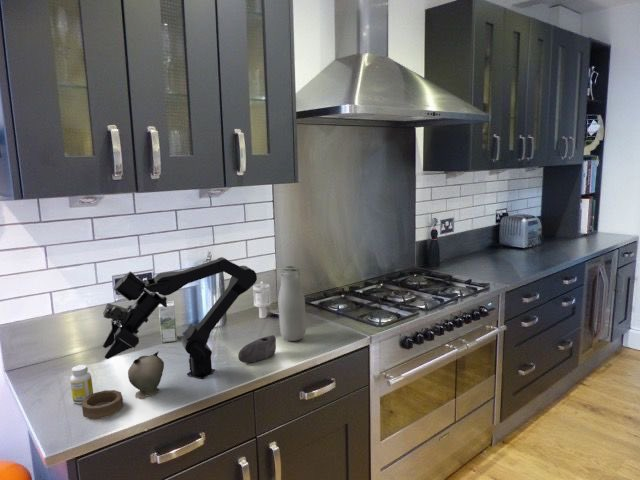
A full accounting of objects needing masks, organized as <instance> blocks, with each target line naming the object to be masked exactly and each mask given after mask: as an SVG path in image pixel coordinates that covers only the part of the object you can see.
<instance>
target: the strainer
mask: <svg viewBox="0 0 640 480" xmlns="http://www.w3.org/2000/svg"><path fill="white" fill-rule="evenodd" d="M252 291H253V292H252V294H253V307H256V308H258V317H259V319H266V318H267V307H269V306H271V304H272V303H271V287H270V284H268V283H264V281H260V282H259V283H257V284H256V283H255V284H254V285H253V286H252Z"/></svg>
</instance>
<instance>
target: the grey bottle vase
mask: <svg viewBox="0 0 640 480" xmlns="http://www.w3.org/2000/svg"><path fill="white" fill-rule="evenodd" d="M279 277H280V286H279V290H278V291H279V293H278V295H277V296H278V297H277V305H278V317H279V320H278V321H279V330H280V335H281V337H282V339H284V340H286V341H288V342H297V341H299V340H301V339H303V338H304V336H305V335H306V327H307V326H306V325H307V324H306V299H305V294H304V291H303V288H302V284H301V280H300V277H301V273H300V268H299V267H296V266H293V265H288V266H284V267H282V268H281V270H280V276H279Z"/></svg>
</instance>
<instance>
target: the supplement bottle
mask: <svg viewBox="0 0 640 480" xmlns="http://www.w3.org/2000/svg"><path fill="white" fill-rule="evenodd" d="M88 371H89V370H88V365H87V364H79V365H76V366H74V367H72V368H71V374H72V375H71V376H70V379H69V381H70V389H71V396H72V402H73V403H74V404H77V405H78V404H79V405H80V404H81V405H82V403H81V402H82V401H83V400H84V399H85V398H86V397H87V396H89V395H91V394H94V388H93V381H92V380H93V379H92V374H91V373H90V372H88Z"/></svg>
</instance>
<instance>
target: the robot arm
mask: <svg viewBox="0 0 640 480" xmlns="http://www.w3.org/2000/svg"><path fill="white" fill-rule="evenodd" d="M220 273H225V274H228V275H229V276H231V277H230V280H229V282H228V284H227V287H226V289H224V291H223V293H221V295H220V296H219V298H217V300H216V301H215V303H213V305H212V306H211V308H210V309H209V310H208V312H207V313H206V314H205V315H204V317H203V318H202V319H201V320H200V321H199V323H197V324H195V325H193V324H192V323H190V324H189V325H188V327H187V329H186V330H185V331H183V332H182V337H181V344H182V347H183V348H184V350H185V351H186V353H187V355H189V356H188V357H189V359H188V364H189V372H187V373H186V375H187V376H189V377H193V378H197V379H204V378H206V377H208V376H209V375H211V374H214V373H215V372H216V369H215V368H213V365H212V363H213V362H212V354H213V350H211V348H210V347H209V345H208V342H209V338H210V335H211V332H213V330H214V328H215V327H216V326H217V324H218V323H219V322H220V321H221V319H222V318H223V317H224V316H225V314H226V313H227V311H228V310H229V309H230V308H231V306H232V305H233V304H234V302H236V300H238V297H239V296H241V295H242V294H244V293H246V292H247V291H248V290H249V289H251V288H253V286H254V285H256V282H257V281H258V277H257V276H258V275H257V272H256V271H255V270H254V269H252V268H250V267H248V266H247V265H238V264H236V263H234V262H232V261H230V260H228V259H226V258H225V257H223V256H220V257H217V258H216V259H214V260H210V261H208V262H205V263H202V264H199V265H194V266H192V267H189V268H186V269H182V270H177V271H173V270H172V271H166V272H161V273H158V274H155V277H152V278H148V279H144V280H142V279H140V278H139V277H137V276H136V275H135V274H134V273H133V272H132V271H129V272H127V274H125V275H123V276H122V277H120V279H119V280H118V281H117V282H116V283H115V285H114V287H113V290H114V291H115V292H116V293H117V294H118V295H121V296H122V297H123V298H124V299H126V300H128V301H135V302H134V303H133V304H130V305H128V306H127V307H126V308H125V307H122V306H119V305H116V304H113V303H106V305H105V308H104V310H103V314H102V315H103V318H105V319H110V322H111V324H110V325H111V330H110V331H109V333H108V336H107V337H106V339H105V340H104V343H103V345H102V347H103V348H104V349H107V348H109V349H108V350H107V352H106V354H105V355H104V359H106V360H109V359H111V358H113V357H115V356H117V355H119V354H121V353H123V352H125V351H127V350H130V349H133V348H134V349H135V348H136V347H137V345H139V343H140V339H139V336H138V333H139V332H140V331H139V329H141V328H140V327H142V325H143V324H144V323H148V322H149V317H151V315H152V314H153V313H154V311H155V310H156V309H157V308H159V304H161V305H163V306H164V307H167V303H166V302H167V300H168V298H167V296H170V295H172V294H174V293H175V292H177V291H180V290H181V289H183V287H185V286H186V285H188V284H190V283H194V282H197V281H199V280H203V279H205V278H209V277H211V276H214V275H217V274H220ZM161 295H162V296H161Z"/></svg>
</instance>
